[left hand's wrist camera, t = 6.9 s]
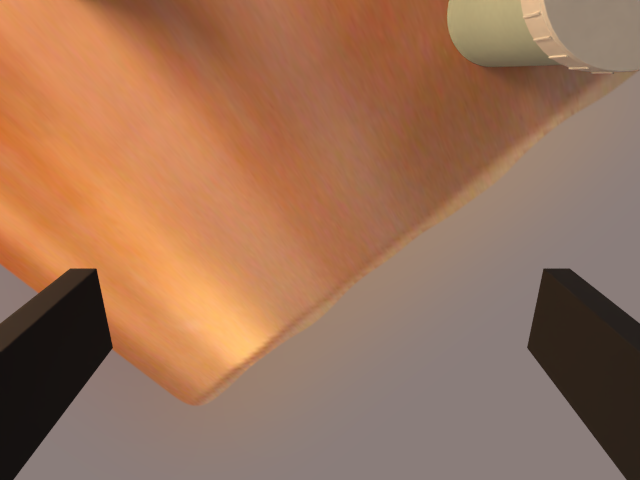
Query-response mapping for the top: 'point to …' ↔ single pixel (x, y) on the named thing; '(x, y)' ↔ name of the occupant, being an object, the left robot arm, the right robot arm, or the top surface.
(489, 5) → the screw-top jar
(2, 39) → the top surface
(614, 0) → the lid
